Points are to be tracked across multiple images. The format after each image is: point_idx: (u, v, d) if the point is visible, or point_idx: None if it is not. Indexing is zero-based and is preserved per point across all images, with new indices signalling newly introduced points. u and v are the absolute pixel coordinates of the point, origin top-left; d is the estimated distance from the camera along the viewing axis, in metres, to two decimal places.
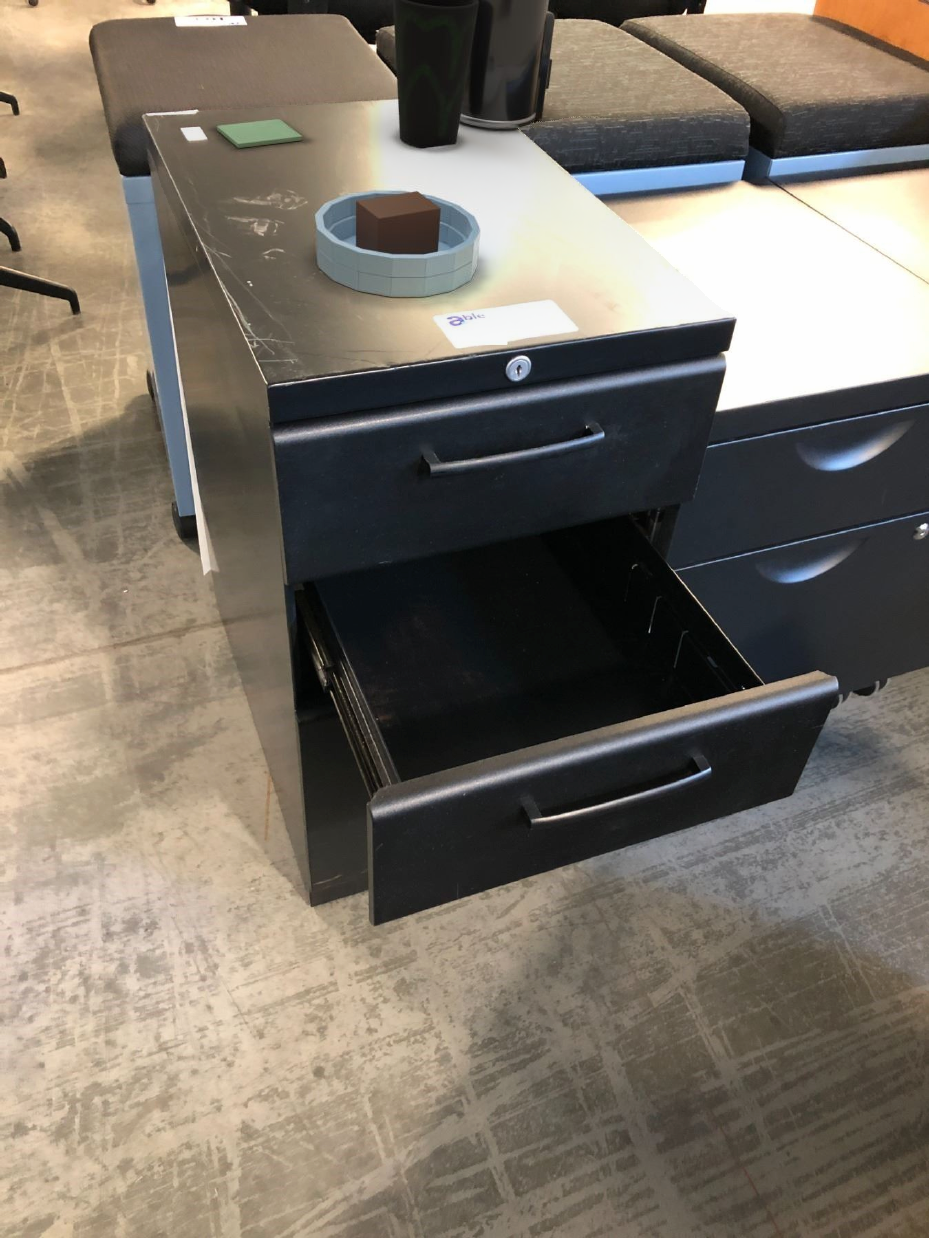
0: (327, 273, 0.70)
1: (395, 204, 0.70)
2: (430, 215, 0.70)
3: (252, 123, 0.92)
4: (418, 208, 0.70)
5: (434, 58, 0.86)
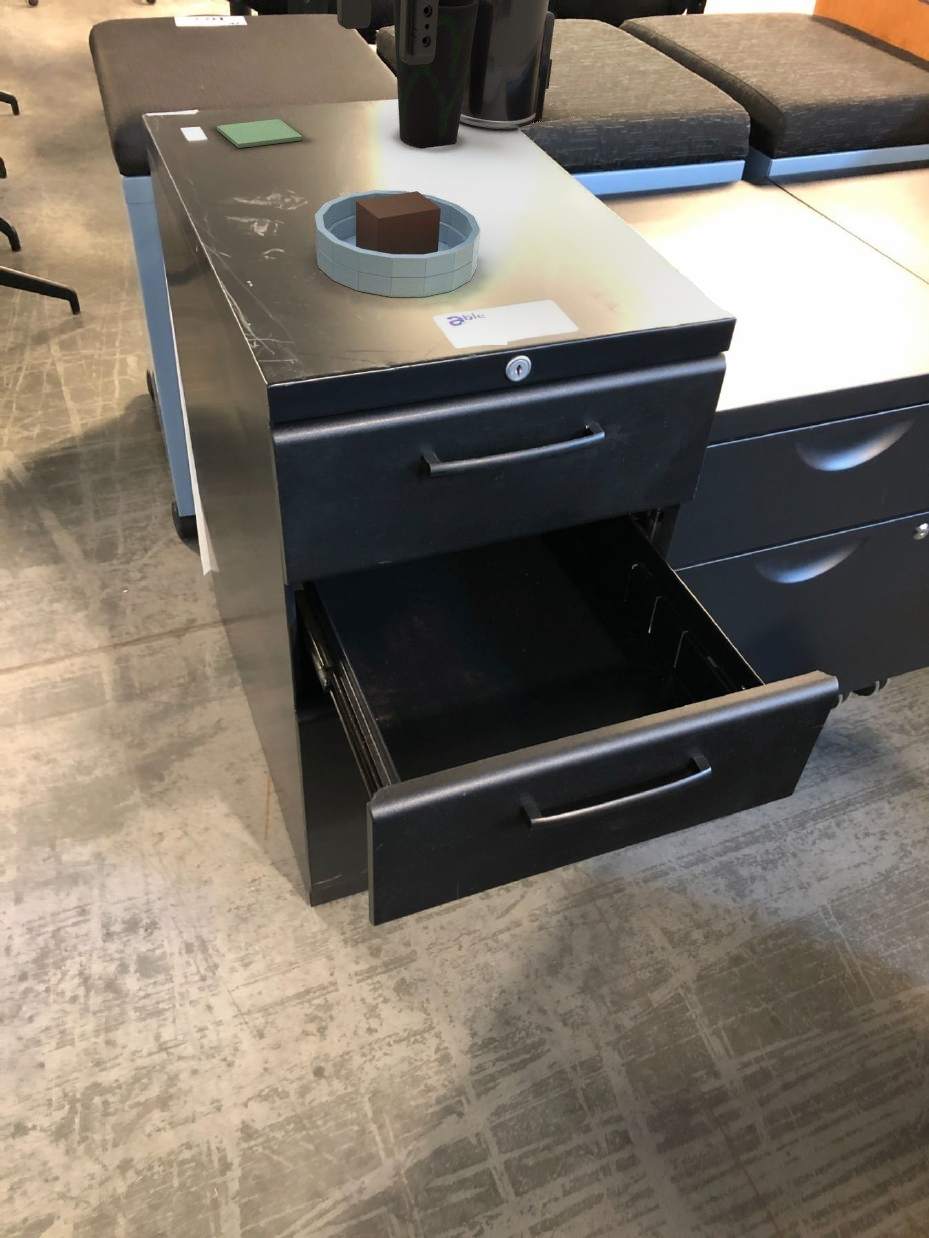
0: (327, 273, 0.70)
1: (395, 204, 0.70)
2: (430, 215, 0.70)
3: (252, 123, 0.92)
4: (418, 208, 0.70)
5: (434, 58, 0.86)
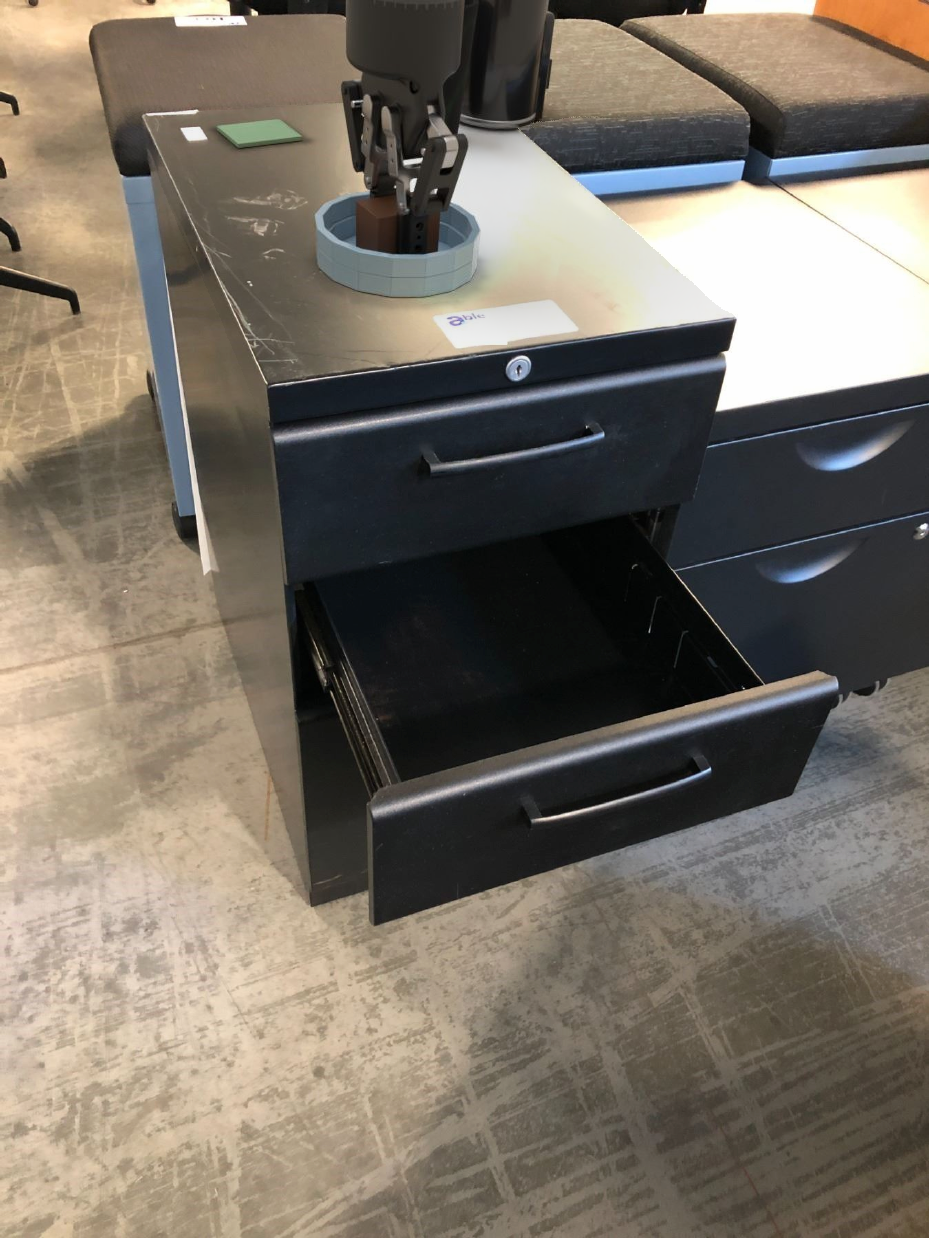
0: (327, 273, 0.70)
1: (395, 204, 0.70)
2: (430, 215, 0.70)
3: (252, 123, 0.92)
4: None
5: None
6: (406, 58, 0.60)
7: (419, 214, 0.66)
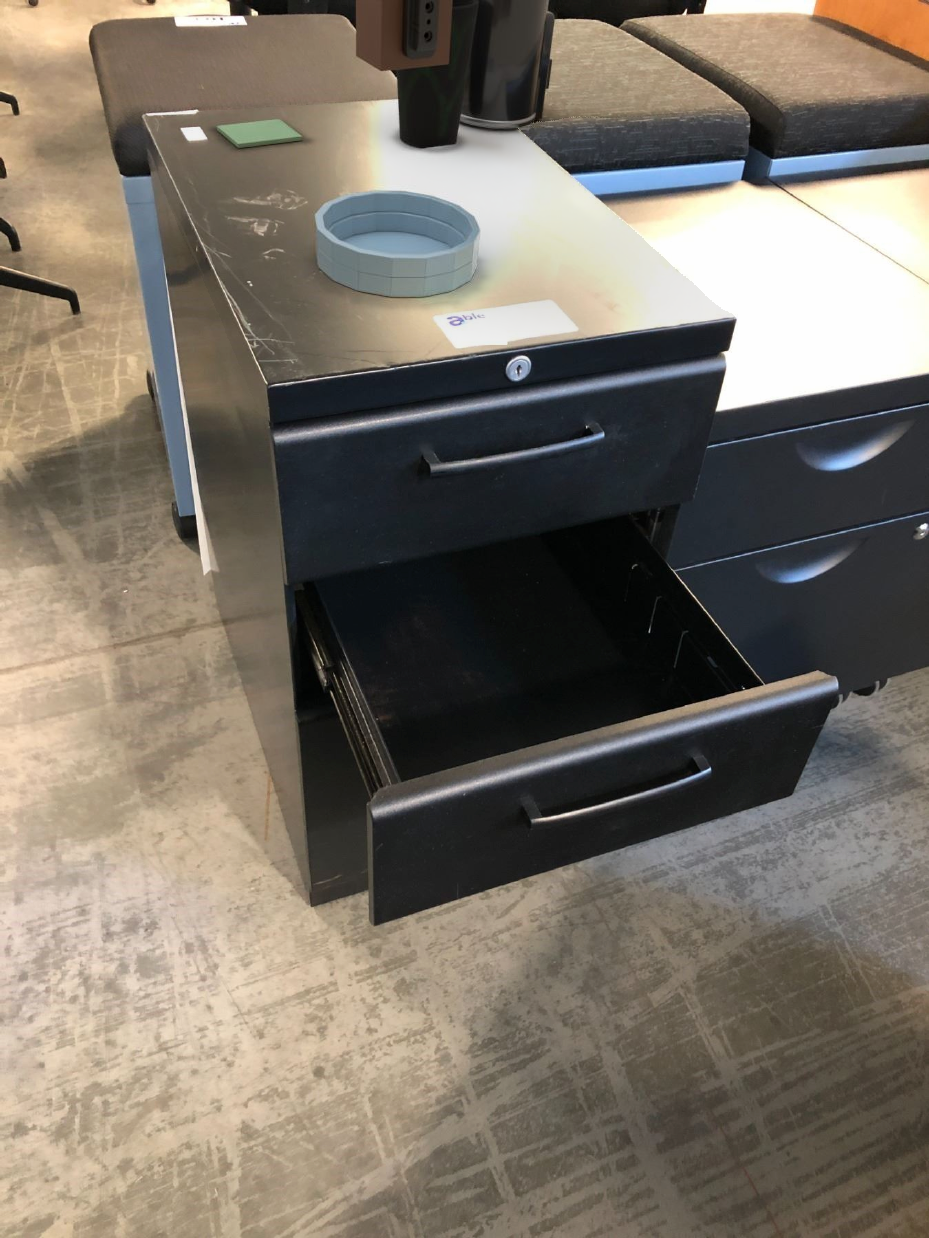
0: (327, 273, 0.70)
1: None
2: None
3: (252, 123, 0.92)
4: None
5: None
6: None
7: None
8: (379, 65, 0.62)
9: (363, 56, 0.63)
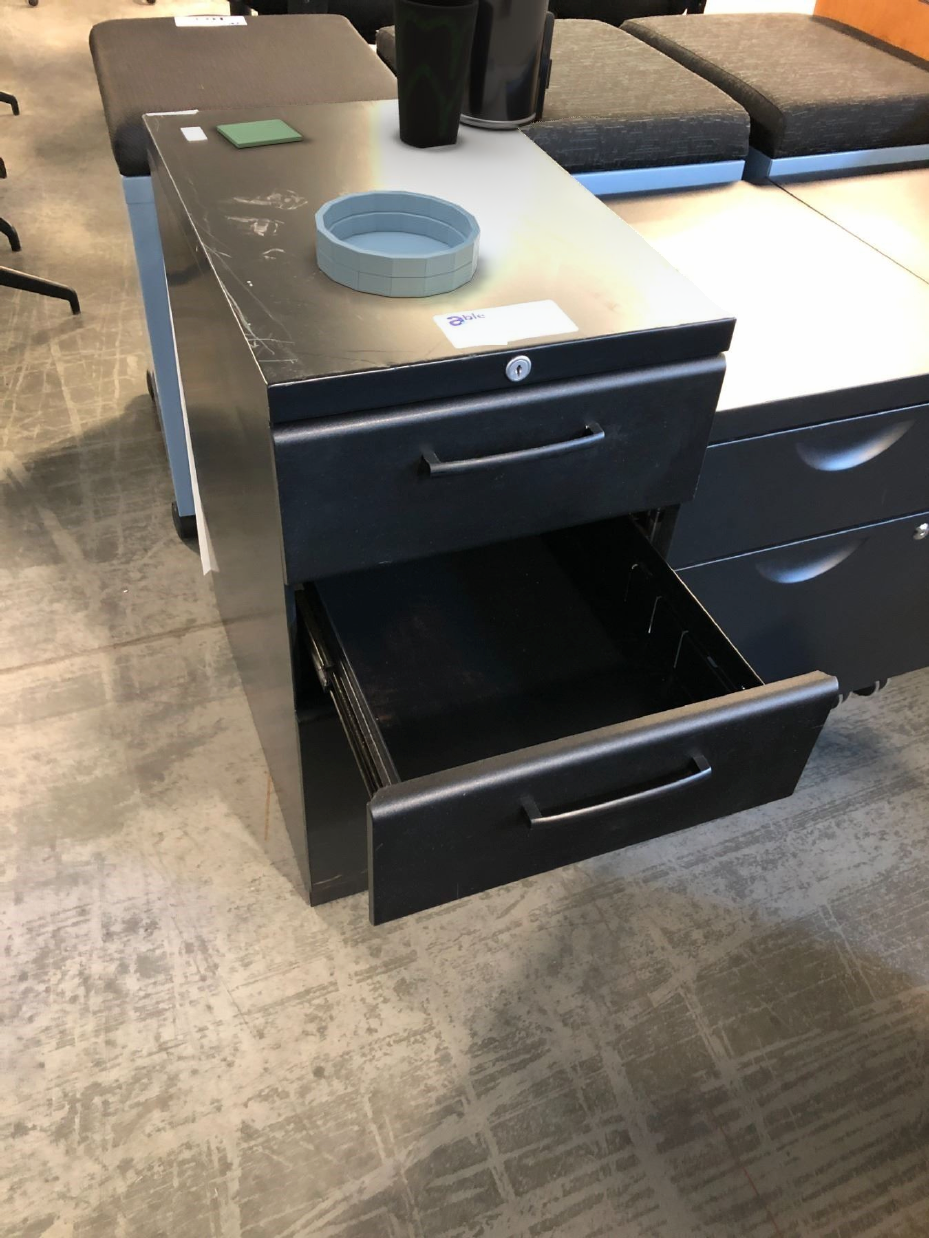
0: (327, 273, 0.70)
1: None
2: None
3: (252, 123, 0.92)
4: None
5: (434, 58, 0.86)
6: None
7: None
8: None
9: None
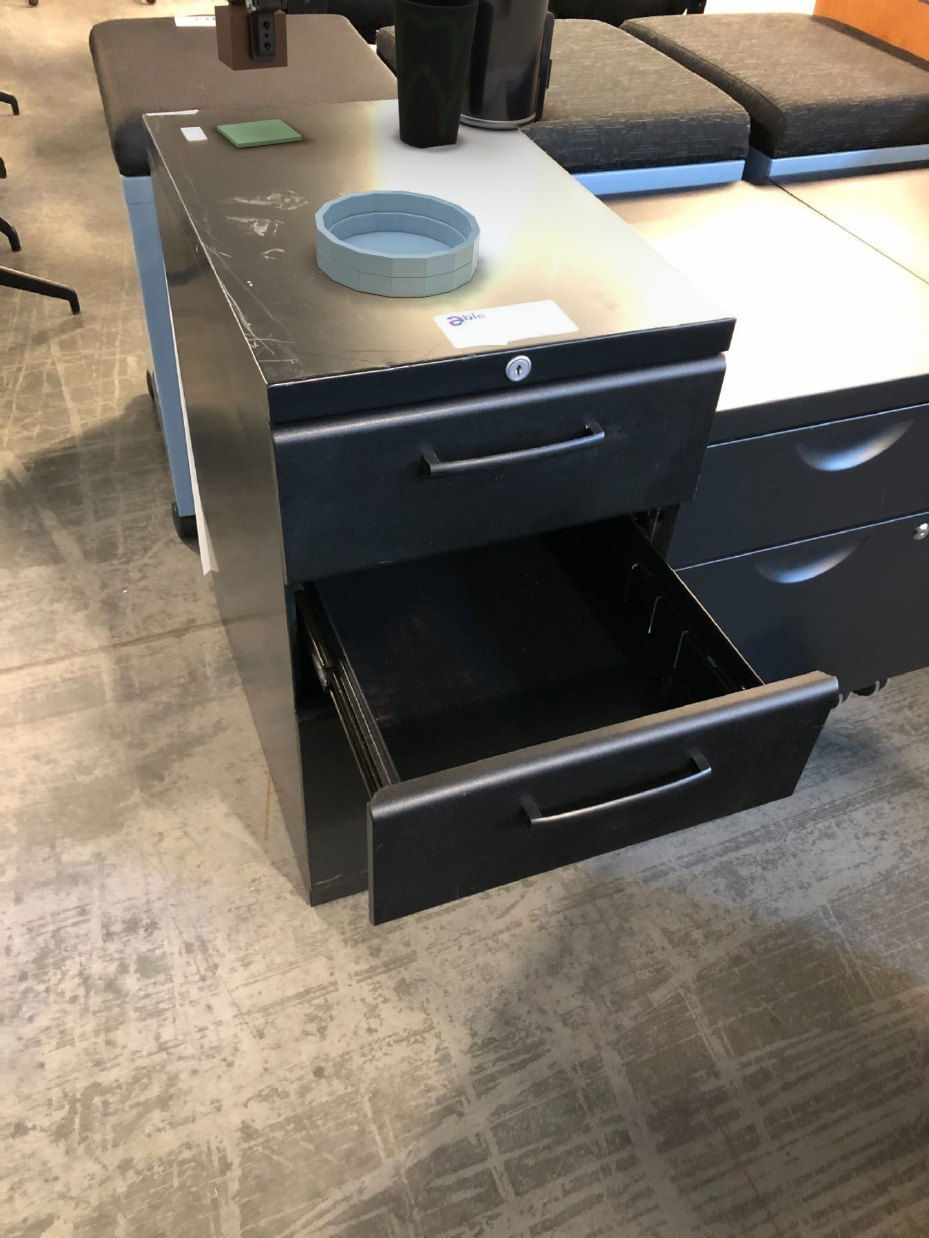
0: (327, 273, 0.70)
1: None
2: (277, 19, 0.84)
3: (252, 123, 0.92)
4: None
5: (434, 58, 0.86)
6: None
7: (261, 8, 0.80)
8: (232, 66, 0.85)
9: (223, 59, 0.86)
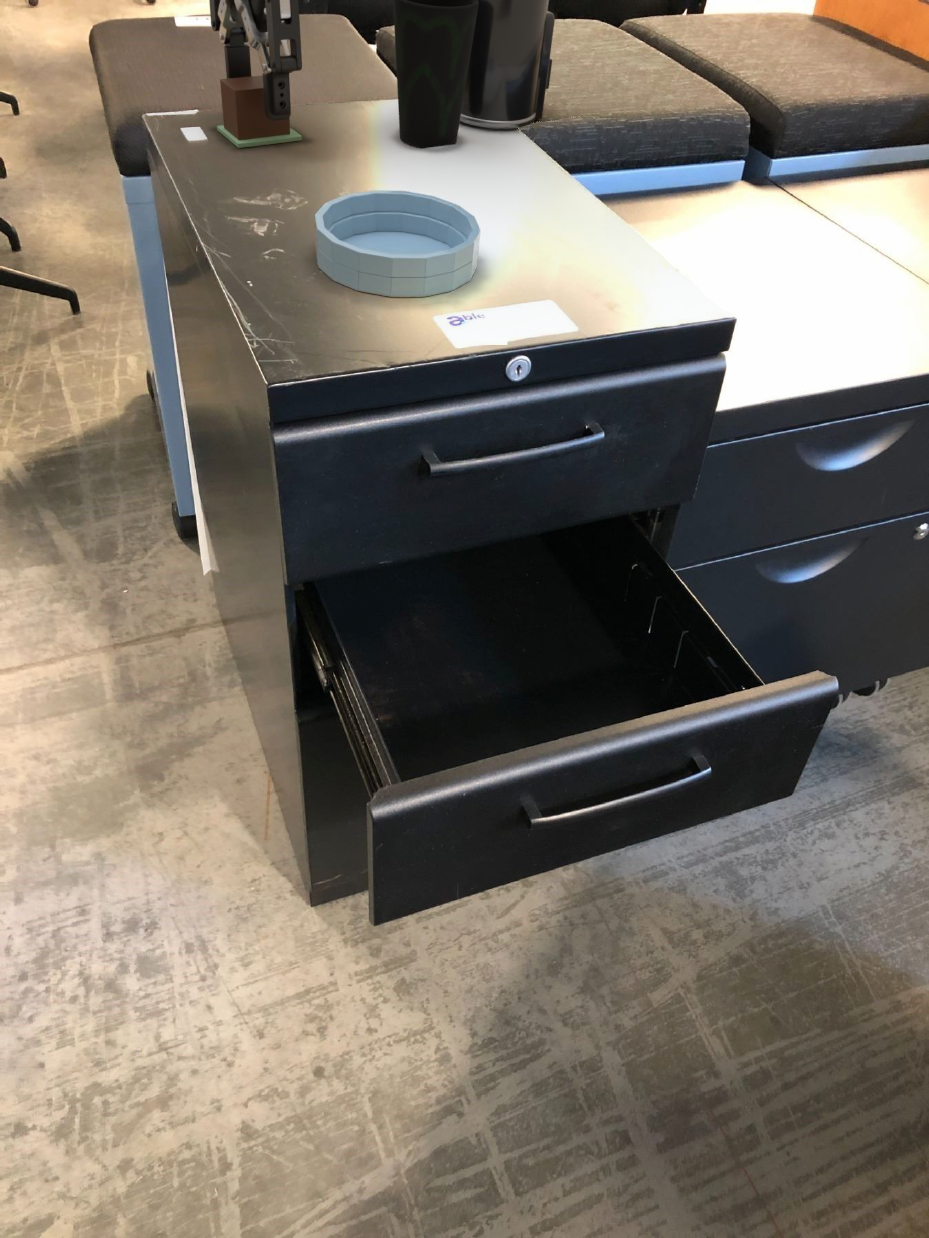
0: (327, 273, 0.70)
1: (251, 82, 0.88)
2: None
3: None
4: None
5: (434, 58, 0.86)
6: None
7: (276, 71, 0.82)
8: (237, 136, 0.89)
9: (228, 129, 0.90)
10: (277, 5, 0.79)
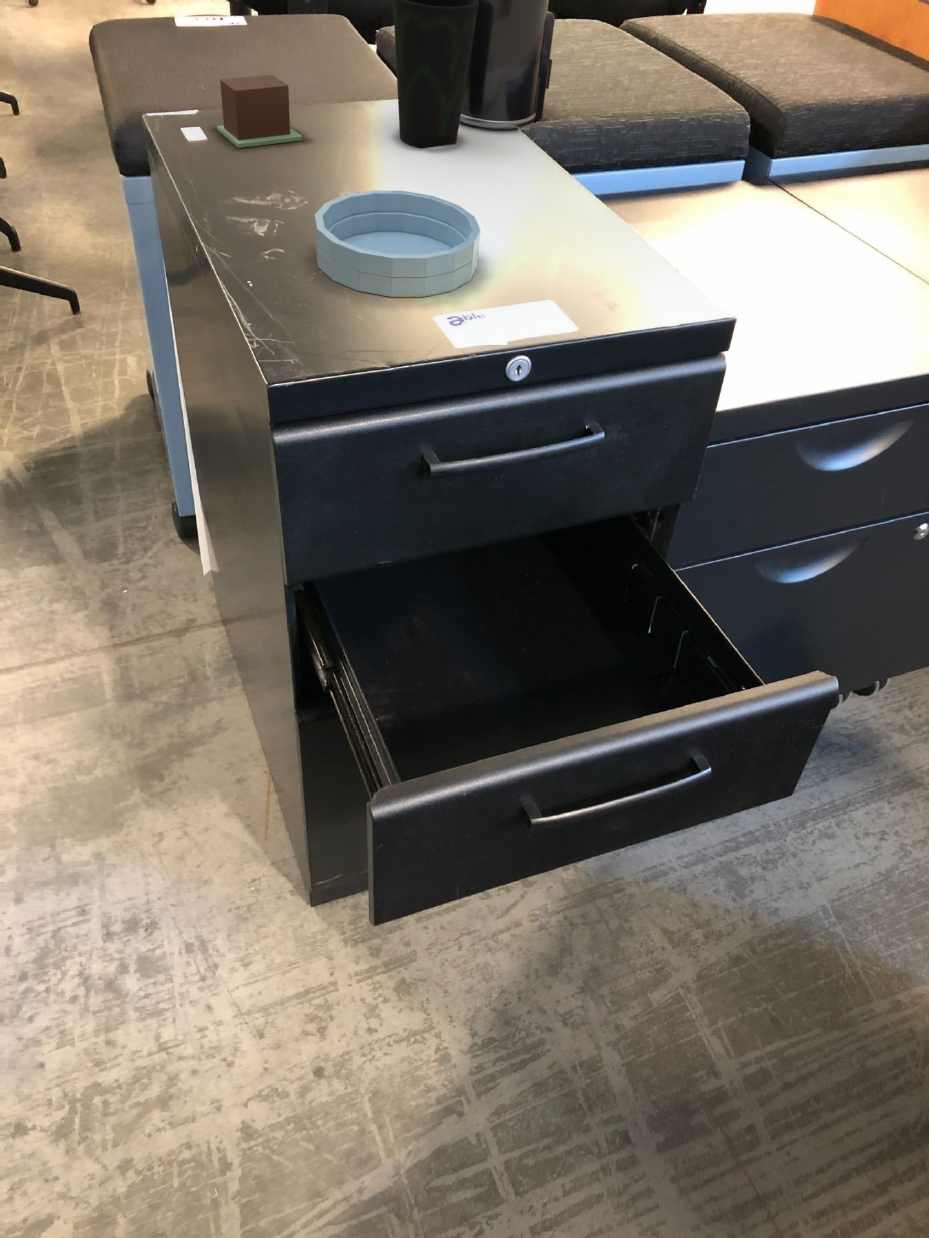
0: (327, 273, 0.70)
1: (251, 82, 0.88)
2: (280, 91, 0.88)
3: None
4: (269, 85, 0.88)
5: (434, 58, 0.86)
6: None
7: None
8: (237, 136, 0.89)
9: (228, 129, 0.90)
10: None
